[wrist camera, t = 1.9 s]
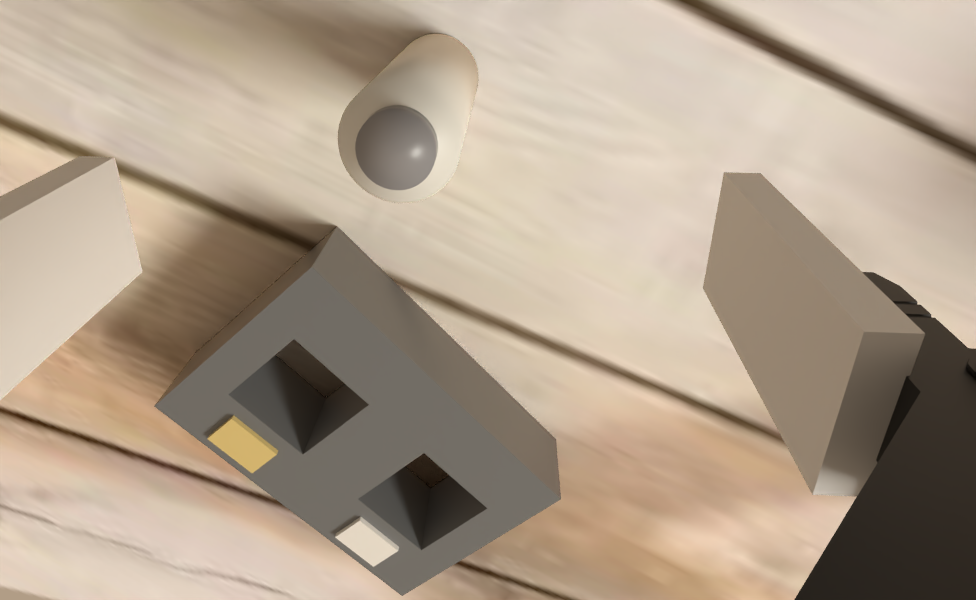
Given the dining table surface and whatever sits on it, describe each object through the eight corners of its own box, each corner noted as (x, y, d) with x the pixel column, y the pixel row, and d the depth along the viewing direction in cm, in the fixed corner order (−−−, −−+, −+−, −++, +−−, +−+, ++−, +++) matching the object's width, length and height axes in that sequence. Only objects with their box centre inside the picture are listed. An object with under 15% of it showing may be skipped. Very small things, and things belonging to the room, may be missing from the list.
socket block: (413, 531, 45) (401, 600, 40) (194, 353, 39) (151, 409, 35) (555, 439, 41) (561, 503, 37) (337, 226, 35) (309, 269, 31)
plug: (379, 73, 32) (305, 145, 20) (439, 14, 31) (395, 57, 19) (435, 134, 33) (395, 235, 22) (495, 81, 32) (485, 158, 20)
